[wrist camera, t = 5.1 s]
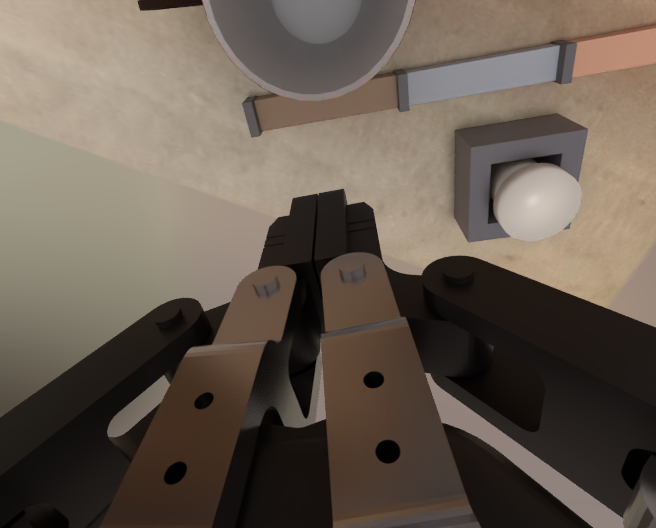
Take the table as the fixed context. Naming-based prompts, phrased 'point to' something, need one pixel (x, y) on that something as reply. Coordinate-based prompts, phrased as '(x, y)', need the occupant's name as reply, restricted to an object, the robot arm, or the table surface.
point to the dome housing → (503, 146)
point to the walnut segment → (320, 106)
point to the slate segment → (477, 75)
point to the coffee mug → (305, 40)
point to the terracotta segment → (605, 53)
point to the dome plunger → (533, 198)
